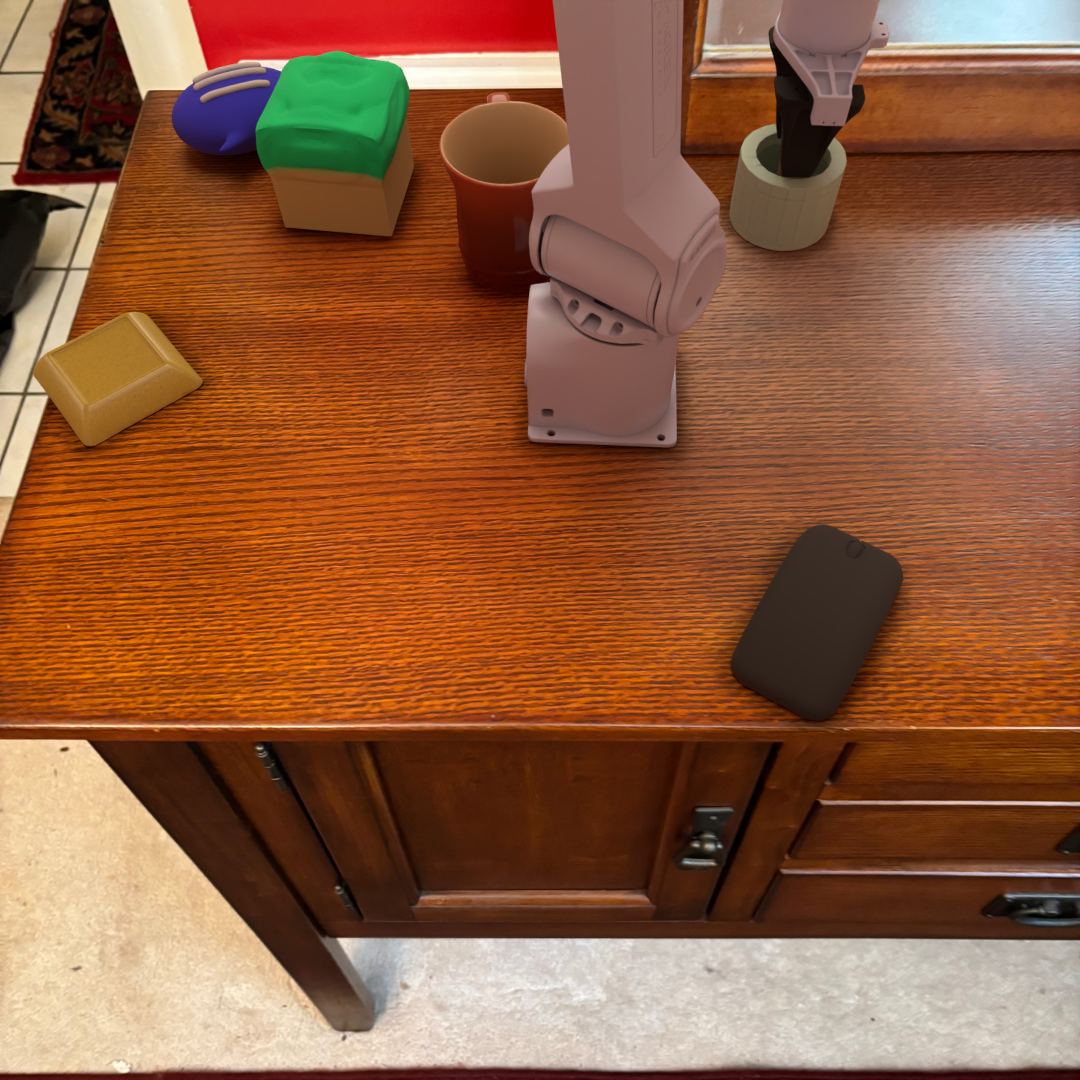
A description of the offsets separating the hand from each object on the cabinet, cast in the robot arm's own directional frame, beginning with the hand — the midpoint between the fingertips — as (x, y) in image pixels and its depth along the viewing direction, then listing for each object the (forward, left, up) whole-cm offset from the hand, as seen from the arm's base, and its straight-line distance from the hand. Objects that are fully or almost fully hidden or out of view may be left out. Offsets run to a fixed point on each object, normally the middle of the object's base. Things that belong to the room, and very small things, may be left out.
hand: (793, 154), depth 69 cm
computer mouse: (0, -34, -6) cm, 35 cm away
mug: (-20, -4, -6) cm, 21 cm away
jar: (0, 0, -6) cm, 6 cm away
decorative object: (-41, +2, -1) cm, 41 cm away
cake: (-33, +1, -6) cm, 33 cm away
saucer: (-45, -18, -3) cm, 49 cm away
